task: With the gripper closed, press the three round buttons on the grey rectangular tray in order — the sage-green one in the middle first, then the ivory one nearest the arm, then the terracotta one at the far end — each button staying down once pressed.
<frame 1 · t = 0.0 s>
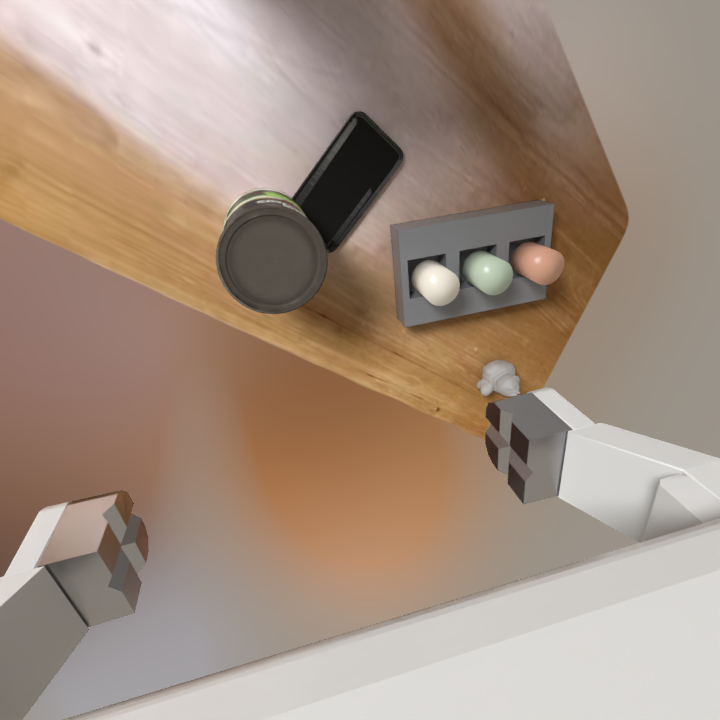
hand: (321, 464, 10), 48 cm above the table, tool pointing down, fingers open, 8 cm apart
ivory button: (434, 282, 55), point 6 cm above the table, slide at 0.0 cm
sage button: (486, 272, 56), point 6 cm above the table, slide at 0.0 cm
coffee can: (266, 232, 54), on the table
phone: (341, 185, 54), on the table
terracotta button: (536, 262, 57), point 6 cm above the table, slide at 0.0 cm
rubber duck: (488, 371, 71), on the table
grey rectangular tray: (466, 260, 61), on the table
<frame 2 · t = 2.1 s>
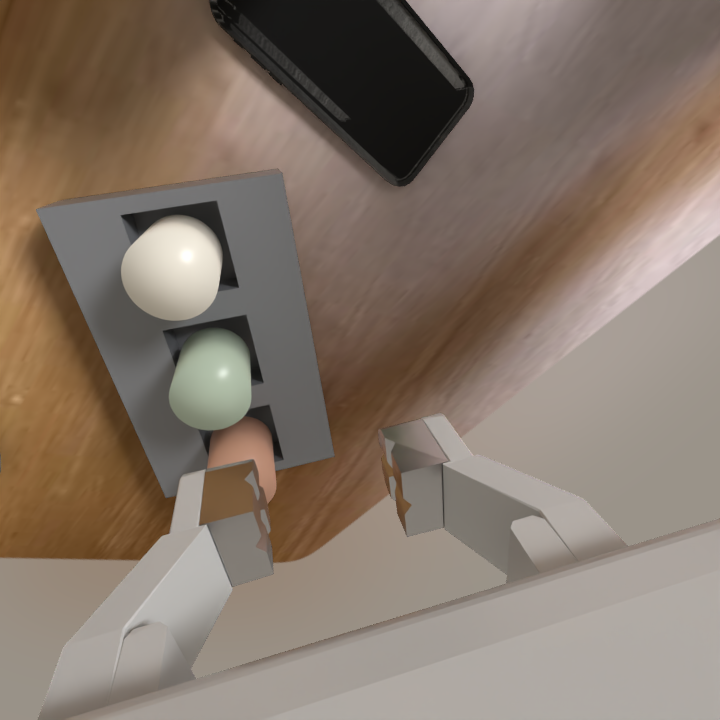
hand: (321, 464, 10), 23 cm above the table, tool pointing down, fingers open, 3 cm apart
ivory button: (177, 265, 24), point 6 cm above the table, slide at 0.0 cm
sage button: (213, 376, 27), point 6 cm above the table, slide at 0.0 cm
phone: (349, 57, 27), on the table
terracotta button: (241, 463, 30), point 6 cm above the table, slide at 0.0 cm
grey rectangular tray: (218, 337, 32), on the table
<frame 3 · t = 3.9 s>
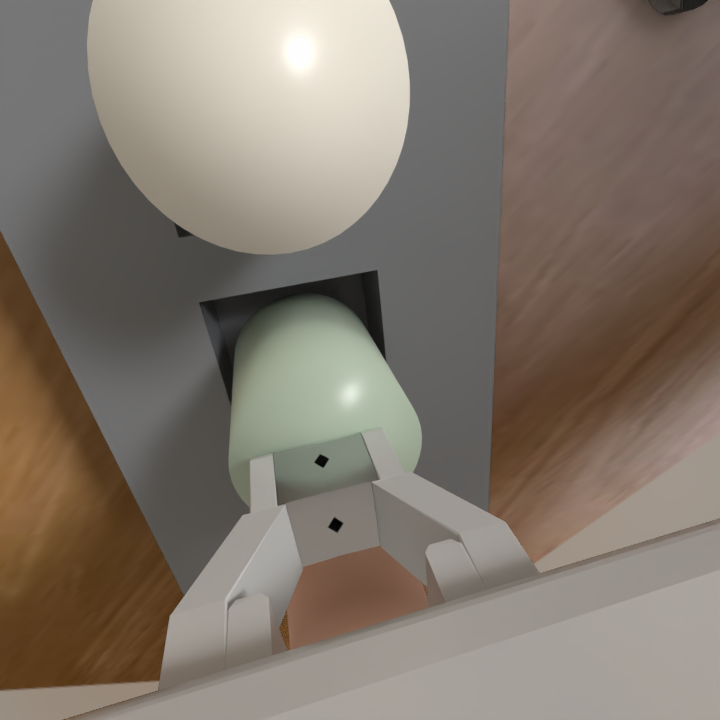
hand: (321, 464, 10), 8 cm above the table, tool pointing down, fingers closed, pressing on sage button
ivory button: (258, 107, 8), point 6 cm above the table, slide at 0.0 cm
sage button: (315, 399, 12), point 6 cm above the table, slide at 0.4 cm, touching gripper
terracotta button: (349, 572, 15), point 6 cm above the table, slide at 0.0 cm
grey rectangular tray: (295, 321, 17), on the table
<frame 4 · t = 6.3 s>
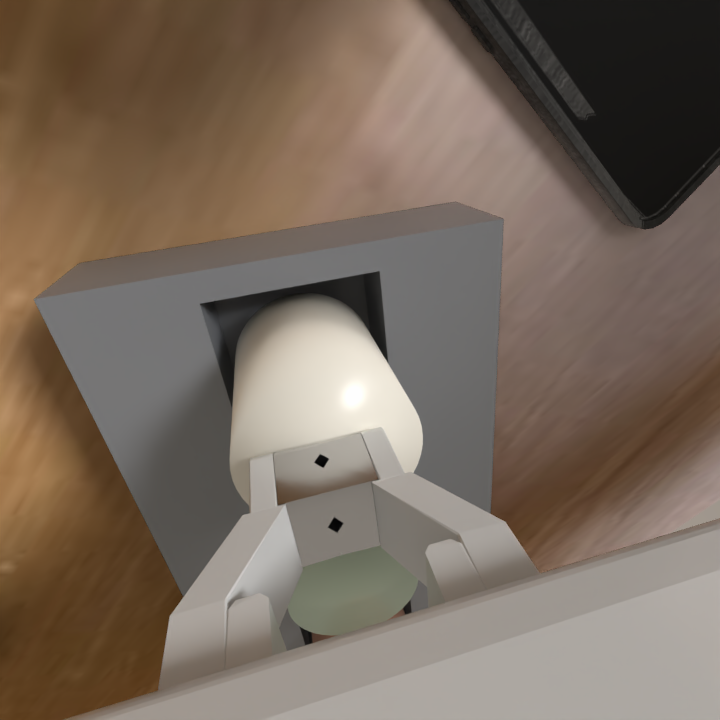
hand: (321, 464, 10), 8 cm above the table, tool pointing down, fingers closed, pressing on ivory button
ivory button: (316, 398, 12), point 5 cm above the table, slide at 0.5 cm, touching gripper
sage button: (341, 532, 17), point 4 cm above the table, slide at 1.8 cm
phone: (602, 2, 15), on the table
terracotta button: (371, 681, 18), point 6 cm above the table, slide at 0.0 cm
grey rectangular tray: (324, 461, 20), on the table
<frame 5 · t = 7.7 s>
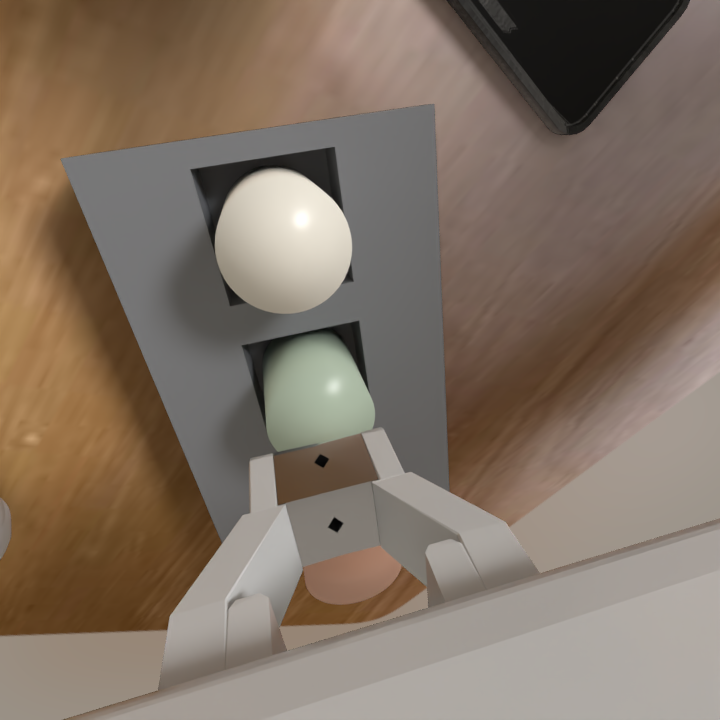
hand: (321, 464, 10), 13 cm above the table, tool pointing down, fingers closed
ivory button: (280, 234, 16), point 4 cm above the table, slide at 1.8 cm
sage button: (313, 390, 20), point 4 cm above the table, slide at 1.8 cm
terracotta button: (344, 527, 22), point 6 cm above the table, slide at 0.0 cm
grey rectangular tray: (303, 350, 23), on the table
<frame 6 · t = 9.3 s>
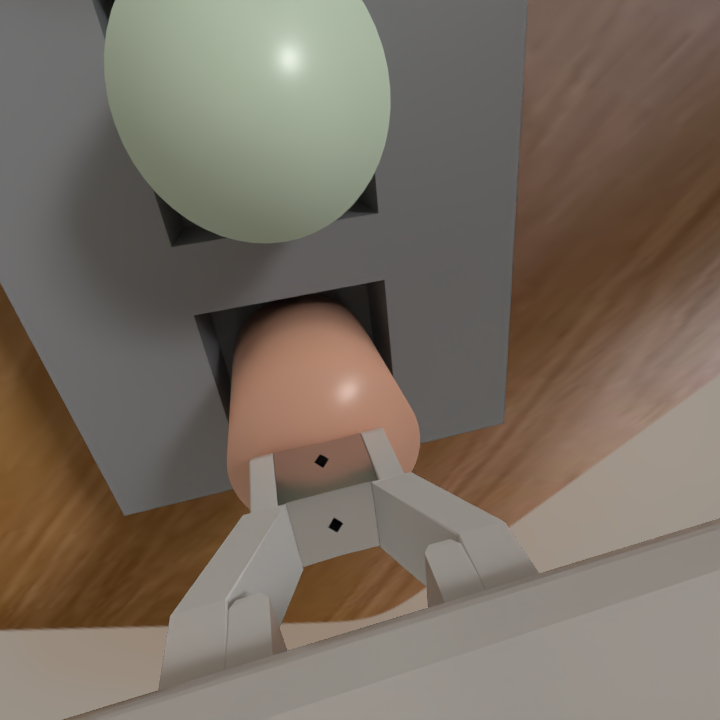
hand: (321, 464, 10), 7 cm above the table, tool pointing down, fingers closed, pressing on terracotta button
sage button: (255, 110, 9), point 4 cm above the table, slide at 1.8 cm
terracotta button: (313, 399, 12), point 5 cm above the table, slide at 1.3 cm, touching gripper
grey rectangular tray: (252, 115, 13), on the table
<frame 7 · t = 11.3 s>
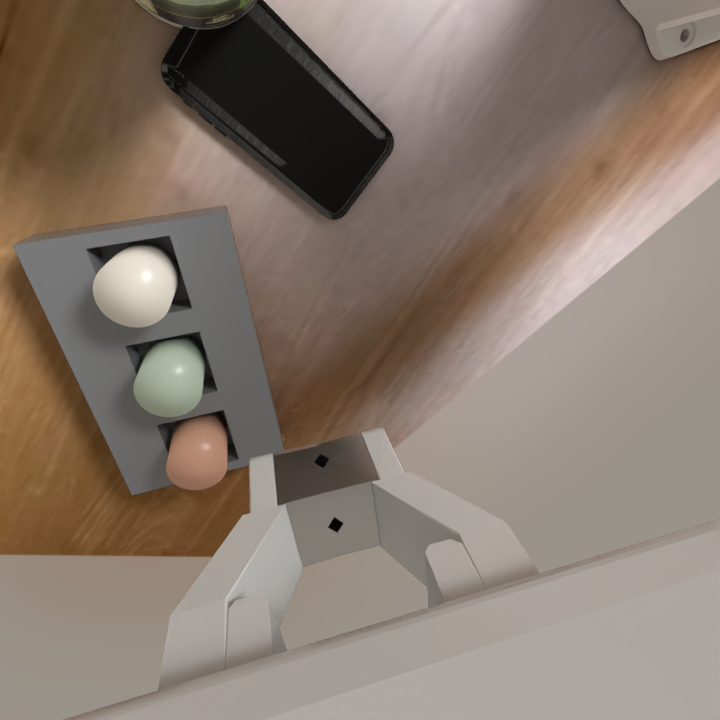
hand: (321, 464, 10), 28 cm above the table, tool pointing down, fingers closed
ivory button: (140, 283, 29), point 4 cm above the table, slide at 1.8 cm
sage button: (172, 373, 33), point 4 cm above the table, slide at 1.8 cm
phone: (285, 112, 31), on the table
terracotta button: (199, 447, 36), point 4 cm above the table, slide at 1.8 cm
grey rectangular tray: (178, 350, 36), on the table
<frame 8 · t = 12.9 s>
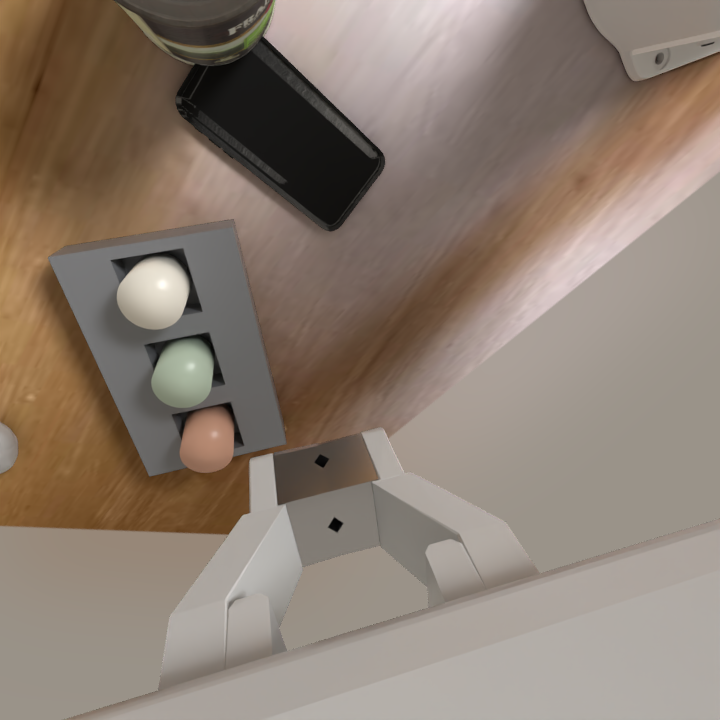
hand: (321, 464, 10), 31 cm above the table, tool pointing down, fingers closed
ivory button: (157, 289, 33), point 4 cm above the table, slide at 1.8 cm
sage button: (185, 369, 37), point 4 cm above the table, slide at 1.8 cm
phone: (286, 135, 35), on the table
terracotta button: (209, 435, 40), point 4 cm above the table, slide at 1.8 cm
grey rectangular tray: (190, 348, 40), on the table
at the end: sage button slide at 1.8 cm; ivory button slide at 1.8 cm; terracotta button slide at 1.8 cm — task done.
